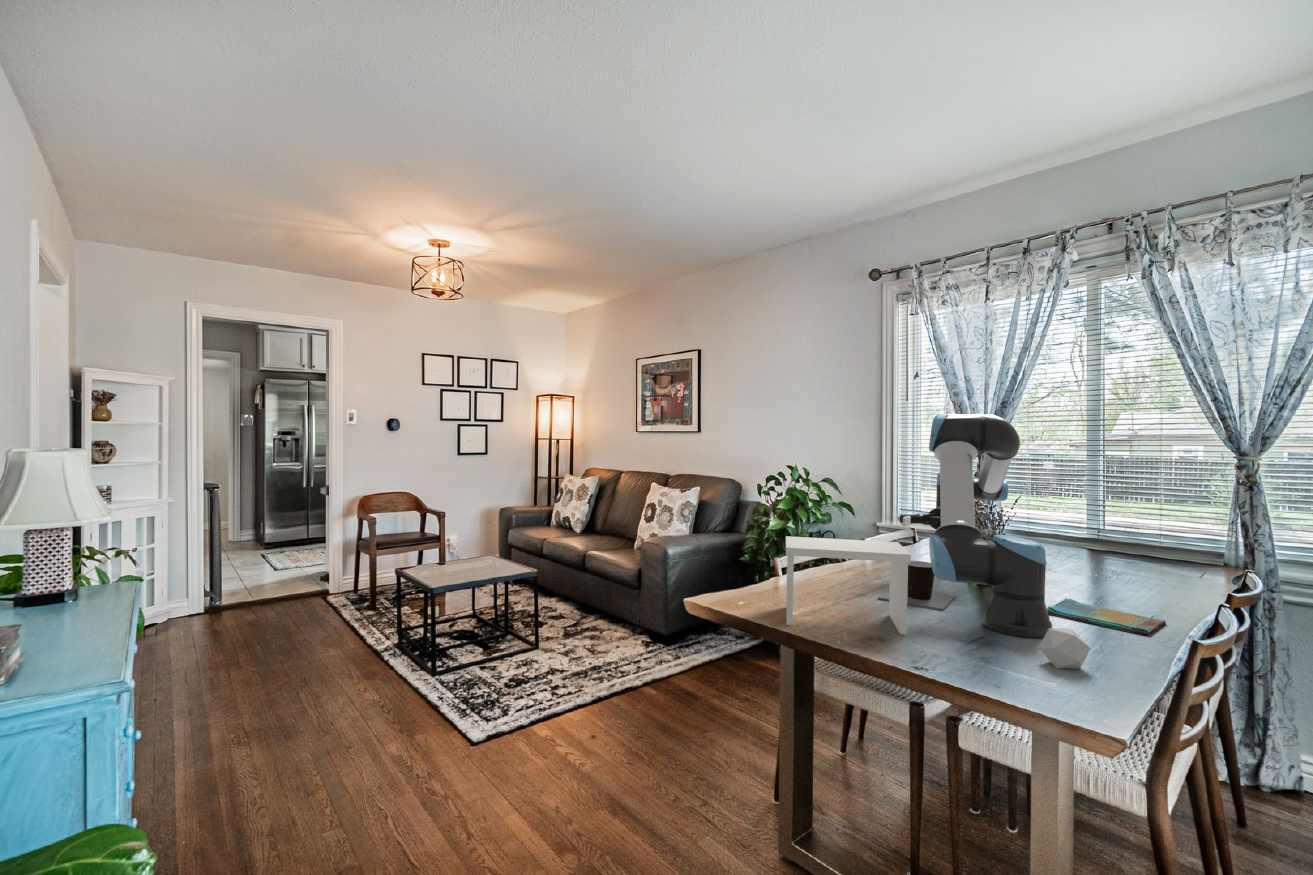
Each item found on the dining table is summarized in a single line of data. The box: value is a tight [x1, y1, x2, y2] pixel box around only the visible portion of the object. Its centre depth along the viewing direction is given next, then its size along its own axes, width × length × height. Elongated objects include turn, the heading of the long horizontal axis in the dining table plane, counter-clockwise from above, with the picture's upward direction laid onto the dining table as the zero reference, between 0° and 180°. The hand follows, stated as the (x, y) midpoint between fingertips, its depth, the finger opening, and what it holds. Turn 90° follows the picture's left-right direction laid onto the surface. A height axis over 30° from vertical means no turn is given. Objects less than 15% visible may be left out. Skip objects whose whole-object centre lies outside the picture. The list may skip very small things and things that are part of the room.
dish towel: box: [1046, 598, 1167, 637], centre depth 166 cm, size 17×23×2 cm
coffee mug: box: [907, 560, 935, 600], centre depth 183 cm, size 12×9×10 cm
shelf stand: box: [785, 535, 912, 636], centre depth 161 cm, size 17×30×20 cm, turn 78°
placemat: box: [877, 588, 957, 612], centre depth 183 cm, size 18×18×1 cm
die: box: [1038, 627, 1092, 670], centre depth 131 cm, size 8×9×10 cm
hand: (926, 524), depth 191 cm, fingers open, 13 cm apart
